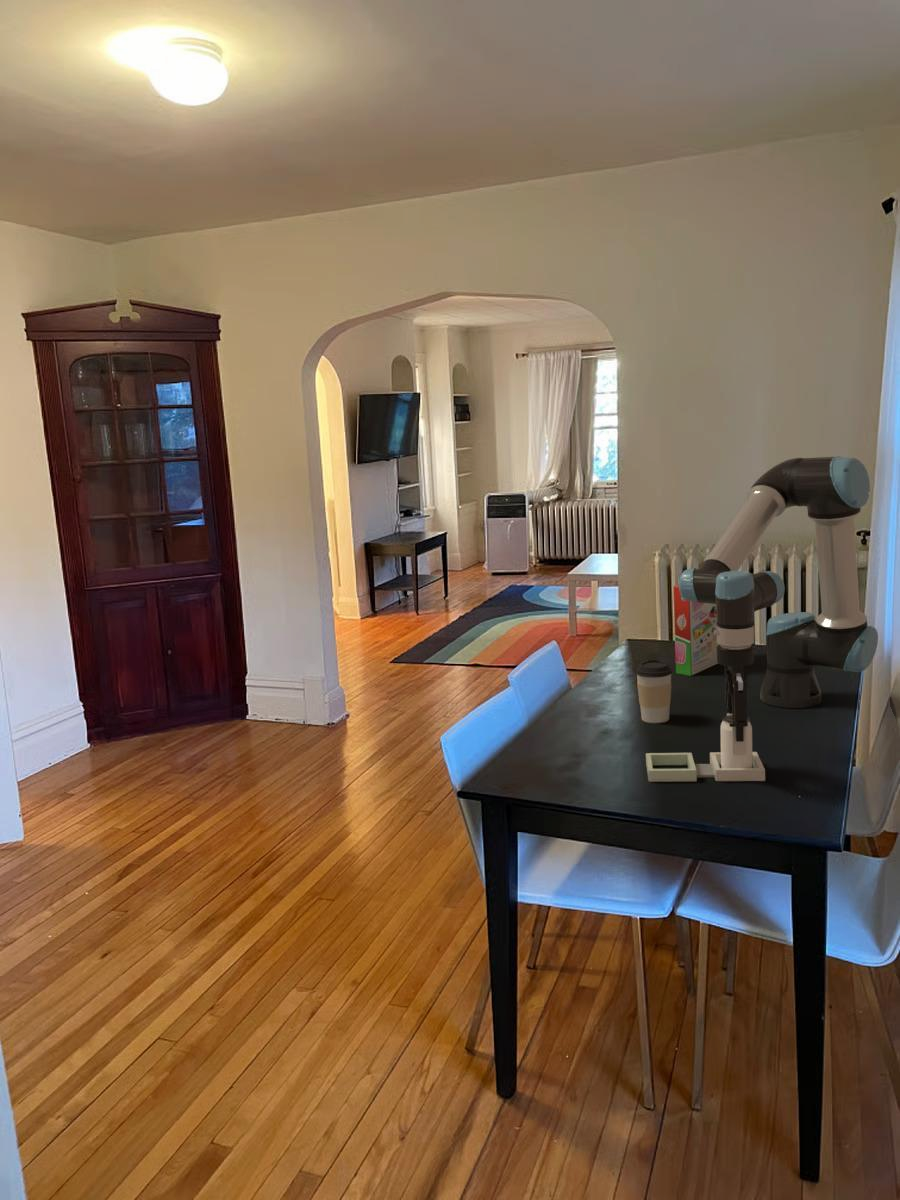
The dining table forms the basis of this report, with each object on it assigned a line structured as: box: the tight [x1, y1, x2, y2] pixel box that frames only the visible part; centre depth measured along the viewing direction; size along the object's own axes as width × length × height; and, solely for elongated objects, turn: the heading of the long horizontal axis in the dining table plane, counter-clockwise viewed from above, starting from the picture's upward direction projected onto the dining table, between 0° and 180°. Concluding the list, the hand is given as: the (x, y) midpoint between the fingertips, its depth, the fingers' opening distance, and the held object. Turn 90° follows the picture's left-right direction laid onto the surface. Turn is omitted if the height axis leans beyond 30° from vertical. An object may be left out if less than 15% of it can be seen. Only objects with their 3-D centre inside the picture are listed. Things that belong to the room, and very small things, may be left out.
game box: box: [673, 583, 719, 677], centre depth 266 cm, size 21×6×27 cm, turn 133°
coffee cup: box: [635, 658, 673, 724], centre depth 225 cm, size 9×9×15 cm
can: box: [720, 715, 753, 768], centre depth 189 cm, size 6×6×12 cm
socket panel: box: [645, 751, 766, 783], centre depth 192 cm, size 24×10×2 cm, turn 81°
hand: (736, 747), depth 189 cm, fingers closed on can, 6 cm apart
